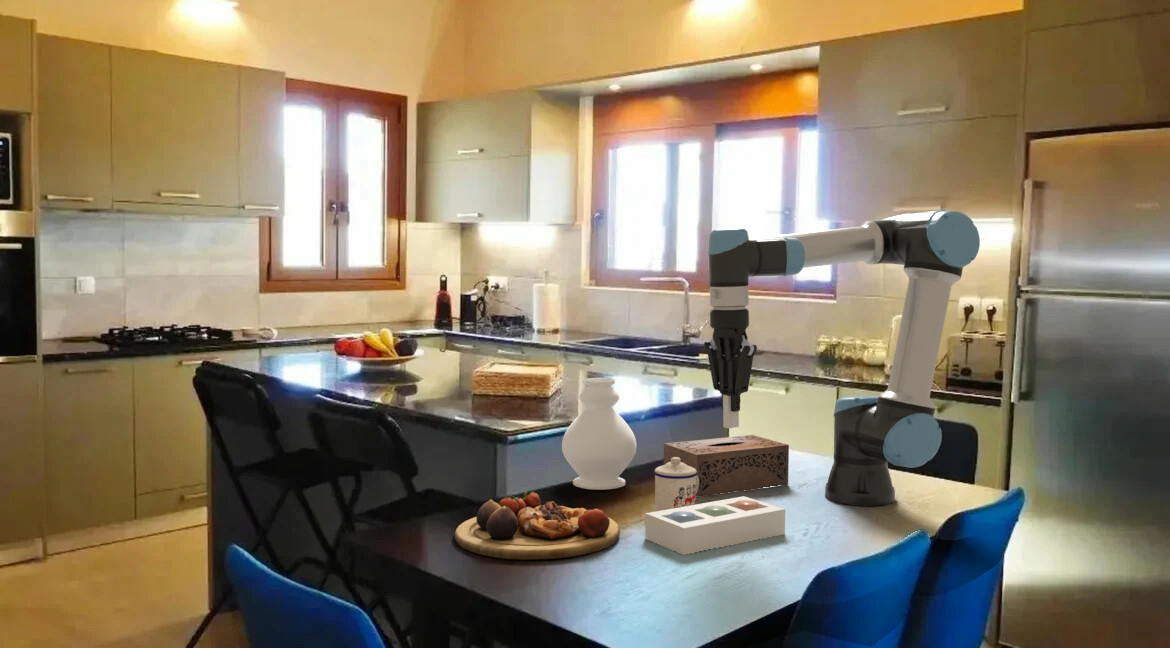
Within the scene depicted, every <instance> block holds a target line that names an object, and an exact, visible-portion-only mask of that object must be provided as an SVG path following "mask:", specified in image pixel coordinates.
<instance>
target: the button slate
mask: <svg viewBox="0 0 1170 648" xmlns="http://www.w3.org/2000/svg"><path fill="white" fill-rule="evenodd" d="M671 520H674V521H676V522H679V523H684V522H689V521H695V514H694V513H692V512H685V511H679V512H673V513H671Z"/></svg>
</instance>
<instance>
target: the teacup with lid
mask: <svg viewBox="0 0 1170 648" xmlns="http://www.w3.org/2000/svg"><path fill="white" fill-rule="evenodd" d="M653 474H654V475H655V476H654V493H655V494H654V512H656V511H662V510H668V509H673V508H679V507H685V506H691V505H696V504H697V503H696V502H697V500H696V499H697V497H696V493H697V490H698V487H699V478H698V476H697V471H696V469H695V468H693V467H690V466H687V465H686V464H685V463H682V462H680V458H679V457H673V458H671V462H668V463H666V464H665V465H664V464H663V465H659V466H657V467H656V468H655V469H654V472H653Z"/></svg>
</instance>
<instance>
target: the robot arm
mask: <svg viewBox="0 0 1170 648" xmlns="http://www.w3.org/2000/svg"><path fill="white" fill-rule="evenodd" d="M980 241H981V240H980V234H979V230H978V227H977V226H975V224H974V221H973V220H972V218H970V216H968V215H967V214H966V213H963V212H961V211H958V210H946V209H940V210H938V209H937V210H934V211H933V210H932V211H922V212H921V211H919V212H917V211H916V212H914V211H913V212H907V213H906V212H905V213H902V214H898V215H895V216H891V217H890V216H889V217H886V218H880V219H876V220H868V221H864V222H863V223H862V224H861V225H860V226H854V227H853V226H852V227H844V228H834V229H826V230H815V231H807V232H797V233H787V234H777V235H768V236H767V235H766V236H760V237H749V234H748V231H747V229H746V228H724V229H723V228H721V229H720V228H719V229H713V230H712V231H711V232H710V234H709V240H708V252H707V254H708V261H709V263H708V266H709V306H710V307H712V308H713V309H711V310H710V312H709V324H710V325H709V327H711V329H713V332H712V338H711V339H710V340H709V341H704V342H703V347H704V349H705V350H706V354H707V360H708V363H709V369H710V374H711V380H712V386H713V389H714V390H715V391H716V390H717V391H719V394H721V410H723V412H722V413H723V414H722V415H723V416H722V417H723V419H722V420H723V426H722V427H723V428H725V429H733V428H739V427H740V422H739V421H740V417H739V415H740V414H739V411H741V395H742V394H744V393H747V392H748V391H749V386H750V379H751V373H752V366H753V361H754V356H755V355H756V352H757V350H758V348H757V347H758V346H757V345H756V344H751V342H750V341H748V335H747V334H748V333H747V331H746V330H747V328H748V327H749V326H750V313H749V312H750V311H749V310H748V308H747V307H748V306H749V305H750V300H749V299H750V298H749V296H750V295H749V277H750V278H753V277H776V276H783V277H787V276H793V275H798V274H800V273H801V271H802V270H803V269H804V268H812V267H822V266H828V265H830V266H831V265H838V264H847V263H856V262H857V263H858V262H865V263H866V264H867V265H877V264H878V265H882V264H884V265H885V264H887V265H889V264H890V265H902V266H903V271H904V273H905V275H906V276H907V277H908V285H907V289H906V294H905V300H904V303H903V309H902V314H901V319H900V323H899V324H900V325H899V329H898V335H897V341H896V344H895V349H894V353H893V354H894V355H893V359H892V360H893V361H892V363H891V368H890V369H891V370H890V374H889V378H888V379H889V380H888V386H887V389H886V390H885V391H883V392H882V393H880V394H879V395H878V396H877V395H874V396H872V395H871V396H867V395H866V396H846V397H845V396H844V397H840V398H838V399H837V400H836V401H835V404H834V411H833V417H834V418H833V419H834V421H833V422H834V425H833V427H834V428H833V464H832V466H831V469H830V472H829V475H828V479H827V482H826V483H825V487H824V488H825V490H824V492H825V493H824V496H825V498H826V499H828V500H830V501H833V502H837V503H840V504H846V505H851V506H863V507H864V506H865V507H867V506H869V507H873V506H874V507H875V506H884V505H889V504H892V503H894V502H895V499H896V498H895V497H896V490H895V487H894V486H893V483H892V478H891V474H890V471H889V470H890V469H889V466H888V463H890V464H892V465H893V466H899V467H905V468H912V469H913V468H918V467H922V466H923V465H925V464H926V463H928V462H929V461H931V460H933V458H934V457H935V456H936V454H937V453H938V450H939V448H940V447H941V443H942V435H943V434H942V429H941V427H940V426H939V425H940V424H939V423H938V421H937V420H936V419H935V418H934V416H935V411H936V405H935V403H933V401H932V400H931V397H930V396H931V392H932V387H933V382H934V378H935V377H934V376H935V370H936V367H937V361H938V357H939V352H940V347H941V342H942V341H941V340H942V336H943V331H944V325H945V322H946V315H947V310H948V306H949V300H950V296H951V290H952V286H953V285H954V284H956V283H957V282H959V281H960V280H961V279H962V275H963V274H962V273H963V271H964V270H963V269H964V267H966V266H968V265H970V264H971V263H972V261H974V260H975V259H976V257H977V256H978V253H979V250H980V246H981V243H980Z"/></svg>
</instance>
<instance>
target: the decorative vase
mask: <svg viewBox="0 0 1170 648" xmlns="http://www.w3.org/2000/svg"><path fill="white" fill-rule="evenodd" d="M583 384H585V385H586V387H584V388H583V390H581V391H580V394H579V400H580V402H581V403H582V404H583V406H585V407H586V408H585V409H584V410H583V411H581V413H579V415H577V417H576V418H574V420H573V421H572V422H571V424H570V425H569V426H568V428H567V429H566V431H565V433H564V434H563V437H562V442H561V450H562V451H561V452H562V454H563V456H564V458H565V460H566V462H567V463H568V464H569V465H570V466H571V468H572V469H573V470H574V472H575V473H576V474H577V475H578V476H579V477H575V478H574V479H573V480H572V484H573V486H575V487H577V488H580V489H586V490H598V491H599V490H603V491H604V490H612V489H613V490H614V489H619V488H622V487H624V486H625V485H626V479H624V478H622V477H620V475H621V474H622V473H623V472H624V471H625V470H626V468H627V467H628V465H630V463H631V462H632V460H633V459H634V457H635V455H636V453H637V440H636V439H637V438H636V436H635V434H634V431H633V430H632V428H631V427H630V425H629V424H628V423H627V422H626V421H625V419H624V418H623V417H622V416H621V415H620V414H619V413H618V412H617V411H616V410H615V409H614V406H615V405H616V404H617V403H618V401H619V399H620V395H619V392H618V391H617V390H616V389H615V388H614V387H612V385H614V384H616V379H615V378H610V377H589V378H584V379H583Z"/></svg>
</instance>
